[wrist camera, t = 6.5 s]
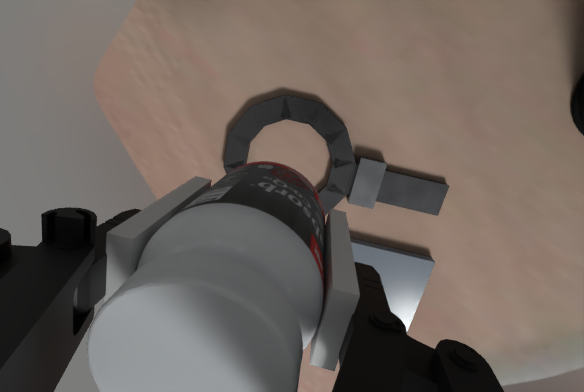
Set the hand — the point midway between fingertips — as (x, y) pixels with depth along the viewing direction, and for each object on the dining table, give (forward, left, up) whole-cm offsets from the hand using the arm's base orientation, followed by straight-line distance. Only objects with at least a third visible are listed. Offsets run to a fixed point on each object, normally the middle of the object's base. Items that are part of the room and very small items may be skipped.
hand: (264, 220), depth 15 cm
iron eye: (0, +4, -16) cm, 16 cm away
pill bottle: (0, 0, -1) cm, 1 cm away
